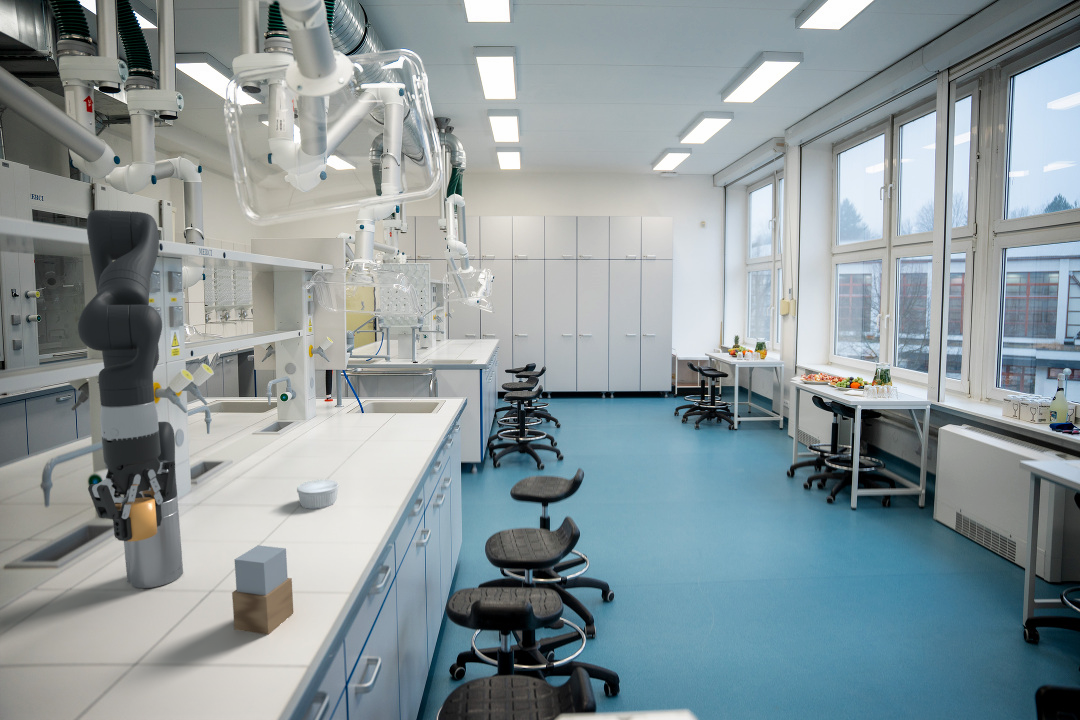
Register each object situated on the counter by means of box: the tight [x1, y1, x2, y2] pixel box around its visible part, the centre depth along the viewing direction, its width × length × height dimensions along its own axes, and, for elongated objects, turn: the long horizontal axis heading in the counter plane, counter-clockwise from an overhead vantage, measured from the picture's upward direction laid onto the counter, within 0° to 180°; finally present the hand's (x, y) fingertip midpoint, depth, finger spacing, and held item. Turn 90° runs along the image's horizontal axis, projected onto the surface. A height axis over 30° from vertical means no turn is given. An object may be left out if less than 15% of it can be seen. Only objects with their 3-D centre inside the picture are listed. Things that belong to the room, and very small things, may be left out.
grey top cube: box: [234, 544, 289, 595], centre depth 107 cm, size 6×6×6 cm
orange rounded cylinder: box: [120, 497, 157, 542], centre depth 96 cm, size 5×5×6 cm
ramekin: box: [296, 479, 340, 510], centre depth 168 cm, size 11×11×5 cm
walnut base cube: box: [231, 577, 294, 636], centre depth 108 cm, size 7×7×7 cm
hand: (139, 532), depth 96 cm, fingers closed on orange rounded cylinder, 4 cm apart
